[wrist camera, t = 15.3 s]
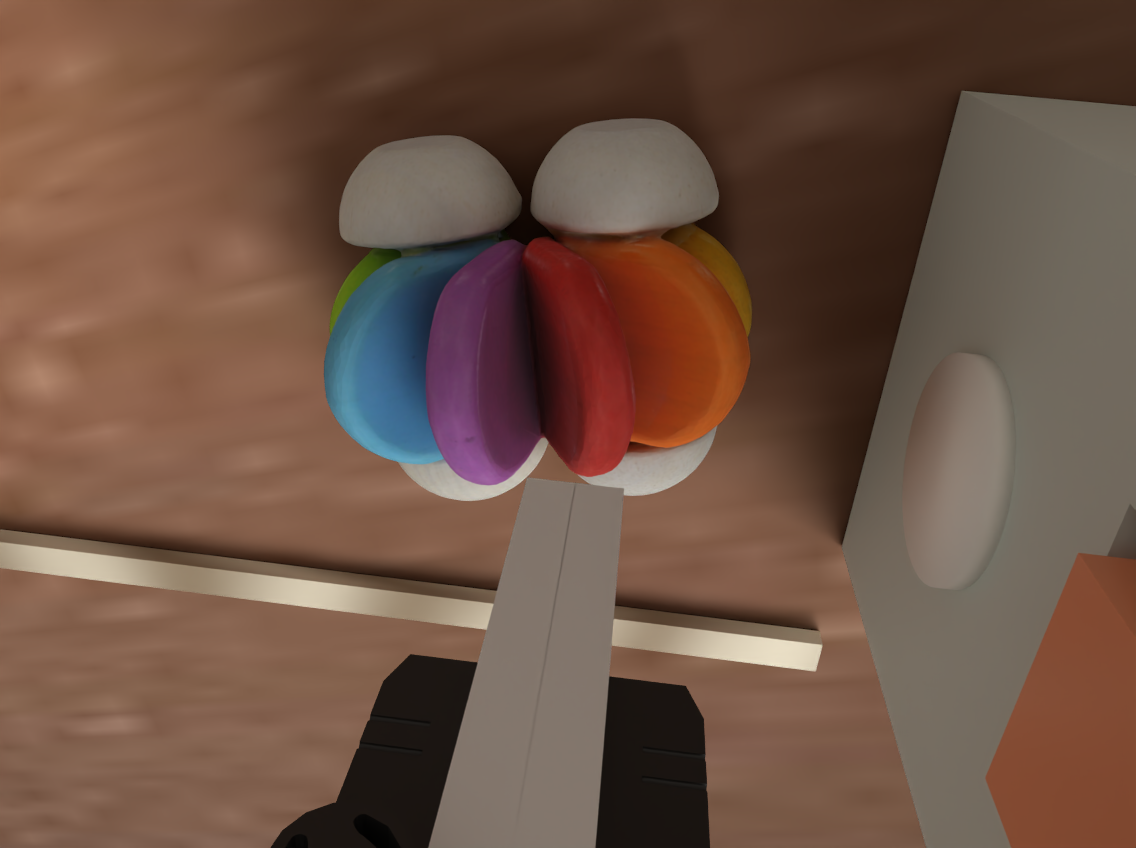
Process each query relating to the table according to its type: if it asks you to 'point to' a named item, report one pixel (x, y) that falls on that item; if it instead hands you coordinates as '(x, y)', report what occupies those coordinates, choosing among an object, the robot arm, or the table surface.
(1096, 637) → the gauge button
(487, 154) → the rainbow petal baby toy
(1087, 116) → the cabinet
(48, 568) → the cream square stick
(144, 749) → the table surface
